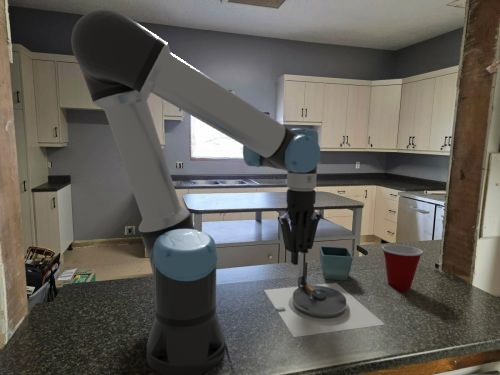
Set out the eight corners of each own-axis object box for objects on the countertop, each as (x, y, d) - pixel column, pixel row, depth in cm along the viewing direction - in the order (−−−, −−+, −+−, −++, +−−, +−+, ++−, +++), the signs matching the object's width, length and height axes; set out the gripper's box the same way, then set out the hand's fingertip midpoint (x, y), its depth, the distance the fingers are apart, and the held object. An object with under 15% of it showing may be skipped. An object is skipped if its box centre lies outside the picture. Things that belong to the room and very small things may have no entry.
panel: (293, 342, 68) (294, 335, 68) (263, 294, 89) (263, 288, 89) (384, 329, 73) (385, 322, 73) (336, 286, 94) (336, 281, 94)
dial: (356, 313, 77) (359, 283, 76) (308, 322, 73) (309, 290, 72) (320, 284, 93) (321, 258, 91) (278, 289, 88) (279, 263, 87)
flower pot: (345, 274, 104) (347, 247, 102) (351, 286, 95) (353, 257, 94) (317, 272, 104) (319, 245, 103) (321, 284, 96) (322, 255, 94)
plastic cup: (405, 278, 101) (408, 241, 99) (427, 295, 90) (431, 253, 89) (371, 279, 100) (374, 242, 98) (390, 296, 89) (394, 254, 87)
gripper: (289, 192, 78) (285, 285, 81) (330, 189, 84) (325, 276, 87) (272, 188, 85) (269, 274, 88) (311, 186, 91) (307, 266, 94)
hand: (297, 275), depth 88 cm, fingers closed
